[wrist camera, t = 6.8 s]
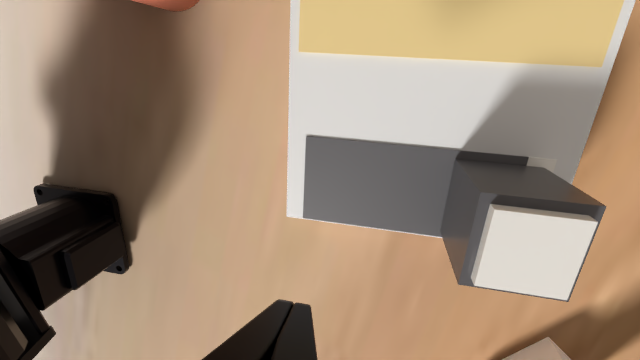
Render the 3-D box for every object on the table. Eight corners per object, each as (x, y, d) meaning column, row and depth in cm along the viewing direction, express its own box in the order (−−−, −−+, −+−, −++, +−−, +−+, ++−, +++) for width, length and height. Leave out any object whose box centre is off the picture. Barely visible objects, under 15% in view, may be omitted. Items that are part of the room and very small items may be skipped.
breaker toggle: (440, 231, 17) (460, 292, 12) (455, 158, 16) (484, 197, 11) (521, 242, 16) (575, 311, 12) (544, 167, 15) (616, 212, 10)
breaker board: (293, 206, 20) (285, 218, 18) (302, -112, 15) (291, -134, 13) (535, 238, 18) (549, 254, 16) (652, -124, 12) (692, -152, 11)
